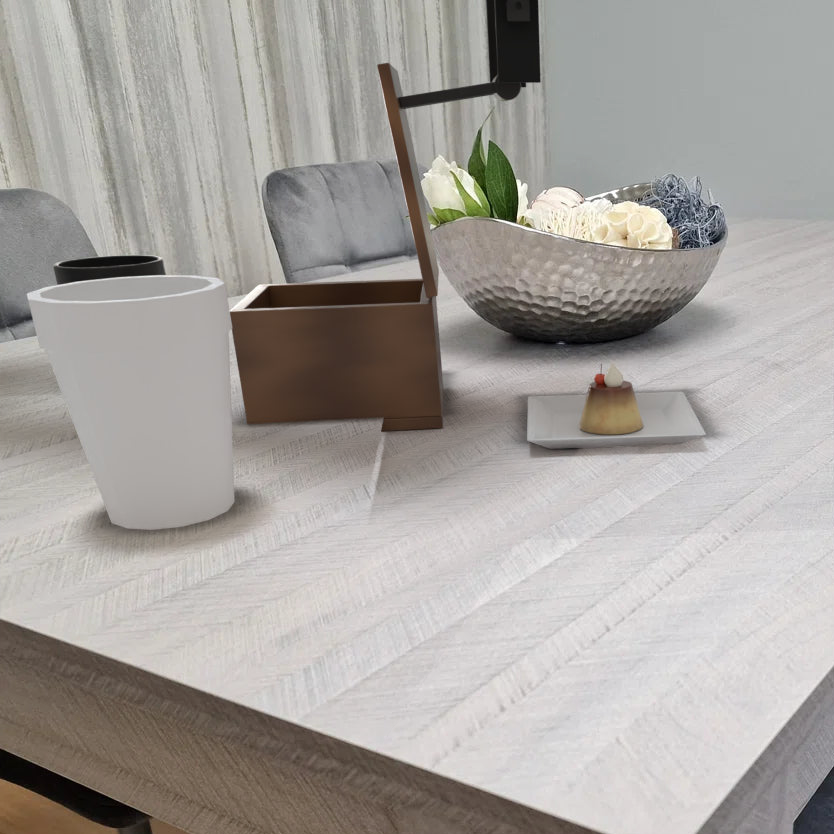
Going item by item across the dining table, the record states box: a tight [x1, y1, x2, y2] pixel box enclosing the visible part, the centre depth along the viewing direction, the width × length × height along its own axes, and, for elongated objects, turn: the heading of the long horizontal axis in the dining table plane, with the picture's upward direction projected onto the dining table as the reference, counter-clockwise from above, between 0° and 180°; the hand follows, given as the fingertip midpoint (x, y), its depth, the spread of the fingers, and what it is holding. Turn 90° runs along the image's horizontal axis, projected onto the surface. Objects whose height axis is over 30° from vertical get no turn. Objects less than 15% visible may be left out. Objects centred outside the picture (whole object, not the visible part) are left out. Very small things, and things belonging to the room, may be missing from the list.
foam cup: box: [26, 274, 235, 531], centre depth 56 cm, size 10×9×13 cm
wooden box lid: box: [376, 62, 522, 298], centre depth 75 cm, size 15×13×9 cm
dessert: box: [526, 363, 707, 450], centre depth 74 cm, size 12×12×5 cm
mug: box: [52, 254, 167, 285], centre depth 97 cm, size 9×12×9 cm
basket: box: [230, 278, 444, 432], centre depth 79 cm, size 14×13×9 cm
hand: (513, 86), depth 73 cm, fingers open, 13 cm apart
